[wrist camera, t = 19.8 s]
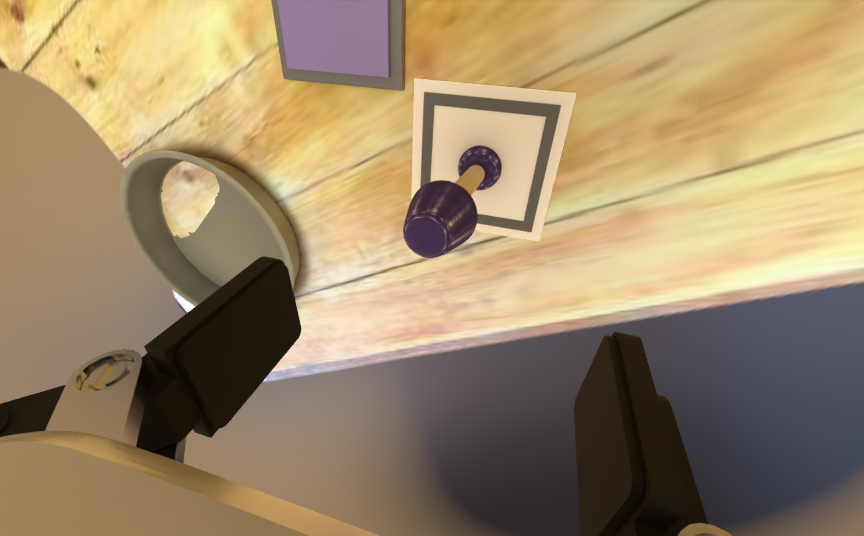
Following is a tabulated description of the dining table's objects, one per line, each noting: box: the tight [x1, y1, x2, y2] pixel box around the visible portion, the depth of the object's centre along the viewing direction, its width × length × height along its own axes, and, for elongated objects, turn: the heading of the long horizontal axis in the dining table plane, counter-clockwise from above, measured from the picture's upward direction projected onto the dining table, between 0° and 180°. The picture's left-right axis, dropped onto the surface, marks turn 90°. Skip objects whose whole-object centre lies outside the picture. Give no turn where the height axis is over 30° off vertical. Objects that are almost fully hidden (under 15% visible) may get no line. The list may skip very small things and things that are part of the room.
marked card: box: [411, 78, 577, 242], centre depth 34 cm, size 14×14×1 cm
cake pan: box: [120, 150, 300, 306], centre depth 47 cm, size 25×25×4 cm
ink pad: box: [272, 0, 405, 90], centre depth 30 cm, size 12×12×1 cm
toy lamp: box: [403, 145, 502, 258], centre depth 27 cm, size 5×5×17 cm
